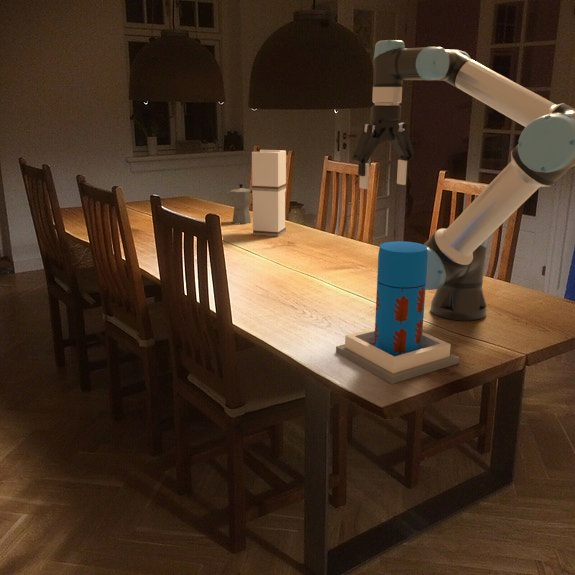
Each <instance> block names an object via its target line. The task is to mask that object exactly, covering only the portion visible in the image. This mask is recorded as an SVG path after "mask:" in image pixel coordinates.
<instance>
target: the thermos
mask: <svg viewBox="0 0 575 575" xmlns="http://www.w3.org/2000/svg"><path fill="white" fill-rule="evenodd" d="M377 257H378V258H377V276H376V277H377V280H376V296H375V297H376V300H375V301H376V302H375V322H374V328H375V347H377V348H379V349H381V350H383V351H384V352H386V353H388V354H390V355H392V356H394V357H395V356H398V355H402V354H405V353H409V352H412V351H416V350H420V349H421V343H422V332H424V331H423V328H424V315H425V314H424V312H425V301H426V300H425V299H426V290H425V288H426V274H427V260H428V252H427V247H426V246H425V245H423V244H422V243H418V242H413V241H398V240H397V241H386V242H383V243H380V244H379V248H378V256H377Z"/></svg>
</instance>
